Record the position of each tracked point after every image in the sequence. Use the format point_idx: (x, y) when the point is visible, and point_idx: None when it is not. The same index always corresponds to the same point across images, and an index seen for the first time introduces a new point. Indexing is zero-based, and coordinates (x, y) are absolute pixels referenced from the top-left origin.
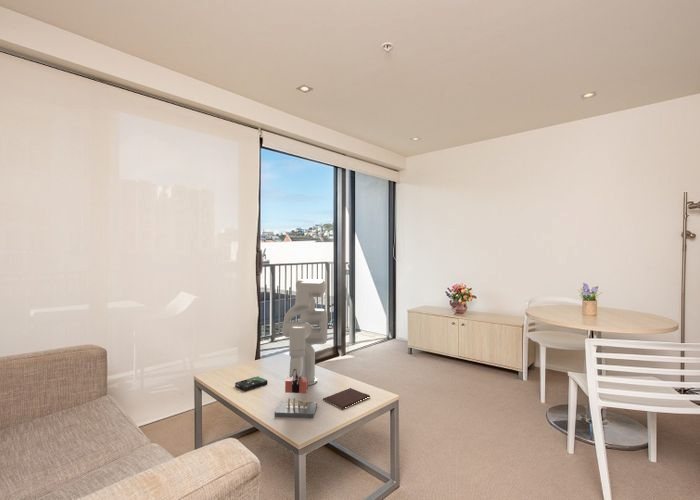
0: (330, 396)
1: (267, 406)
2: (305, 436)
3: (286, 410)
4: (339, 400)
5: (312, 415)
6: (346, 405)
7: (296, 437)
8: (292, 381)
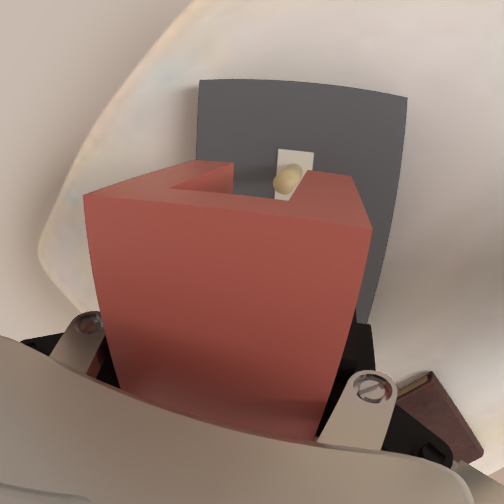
0: (438, 408)
1: (375, 7)
2: (67, 276)
3: (232, 161)
4: None
5: None
6: None
7: (55, 243)
8: (20, 342)
